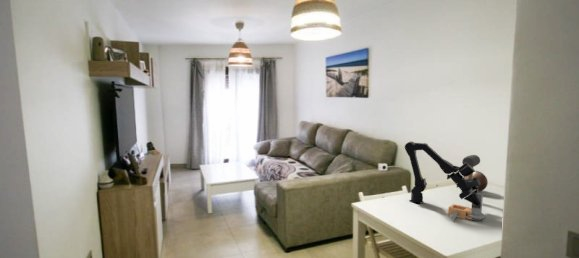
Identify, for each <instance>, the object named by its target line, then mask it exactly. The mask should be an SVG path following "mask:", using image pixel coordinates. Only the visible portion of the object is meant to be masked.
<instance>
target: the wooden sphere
mask: <svg viewBox="0 0 579 258" xmlns="http://www.w3.org/2000/svg"><path fill="white" fill-rule="evenodd" d="M463 178H464V179H465V180H466V179H468V176H467V177H466V176H465V177H464V176H463ZM473 178H477V179H479V180H480V184H481V185H479V186H478V188H477V189H478V193H481V192H482V191H484V190H485V189H486V188H487V187H488V183H489V181H488V178H487V176H486V175H485V174H484V173H483V172H482V171H479V170H475V172H473V177H472V179H473ZM477 189H476V190H477Z"/></svg>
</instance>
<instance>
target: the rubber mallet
mask: <svg viewBox="0 0 579 258" xmlns="http://www.w3.org/2000/svg"><path fill="white" fill-rule="evenodd" d="M466 162H467V163H468V164H469V165H470V166H472V167H473V168H474V167H476V166H478V165H479V164H481V163H480V162H481V159H480V157H479V156H478V155H476V154H471V155H467V156H465V157H464V158H463V159H462V165H463V164H464V163H466ZM472 177H473V173H472V174H470V175H469V176H468V179H467V180H468V181H471V180H473V179H472Z"/></svg>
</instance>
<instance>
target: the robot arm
mask: <svg viewBox="0 0 579 258" xmlns="http://www.w3.org/2000/svg"><path fill="white" fill-rule="evenodd" d="M404 150H405V152H406V154H407V156H408V157H409V160H410V164H411V168H412V171H413V172H412V173H413V176H414V186H413V188H411V190H410V192H411V193H410V194H411V195H410V199H409V200H408V201H409V202H411V203H414V204H416V205H419V204H423V203H424V199H423V198H424V196H423V195H424V194H423V193H422V192H425V190H426V188H427V185H428V183H427V179H426V178H423V176H422V173H421V168H420V164H419V160H418V157H417V151H424V153H426V154H427V156H429V157H430V158H431V159H432V160H433V161H434V162H436V164H438V166H439V168H440V169H441V171H442V172H443V173H444V174H446V177H447V178H446V180H450V179H451V180H452V181H453V182H454V184H455V185H456V188H459V189H460V193H459V195H458V197H459V199H460V200H465V201H467V202H469V203H471V204H472V203H473V204H475V205H477V206H478V205H479V204H478V202H477V201H476V199H475V198H474V196H473V192H478V189H477V188H478V186H479V185H481V184H480V180H479V179H477V178H473V180H471V181H468V180H467V179H466V180H465V179H464V177H465V176H466V177H467V176H469V175H470V174H472V173H473V172H475V171H476V170H475V169H474V167H472V166H470V165H469V164H468V163H467V162H466V163H464V164H463V163H462V165H461V166H457V165H454V164H453V163H451V162H450V161H448V160H446V159H444V158H443V157H442V156H440V155H439V154H438V153H437V152H436V151H435V150H434V149H433V148H432V147H430V146H429V145H428V143H426V142H424V143H420V142H414V141H409V142H407V143H405V144H404ZM476 189H477V190H476ZM478 193H479V192H478Z"/></svg>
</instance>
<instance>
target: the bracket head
mask: <svg viewBox="0 0 579 258" xmlns="http://www.w3.org/2000/svg"><path fill="white" fill-rule="evenodd" d="M447 211H448V213H447V214H448V216H449V218H450V220H452V221H454V219H456V218H460V219H462V220H463V219H464V220H466V219H467V220H468V219H469V220H472V221H475V222H476V221H477V222H478V221H479V222H480V221H481V220H485V219H486V214H484V213H481V209H479V208H475V207H472V206H471V207H468V206H464V205H461V204H455V203H452V204H451V205H449V206H448V209H447Z"/></svg>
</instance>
